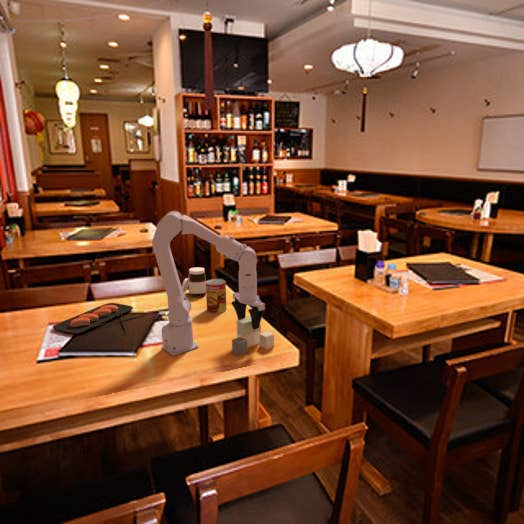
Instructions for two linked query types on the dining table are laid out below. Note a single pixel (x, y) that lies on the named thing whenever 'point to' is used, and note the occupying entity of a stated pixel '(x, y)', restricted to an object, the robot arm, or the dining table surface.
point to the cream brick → (251, 338)
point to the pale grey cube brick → (266, 340)
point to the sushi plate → (83, 320)
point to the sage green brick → (245, 326)
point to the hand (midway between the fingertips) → (248, 324)
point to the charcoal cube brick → (239, 346)
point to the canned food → (216, 295)
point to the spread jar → (195, 282)
